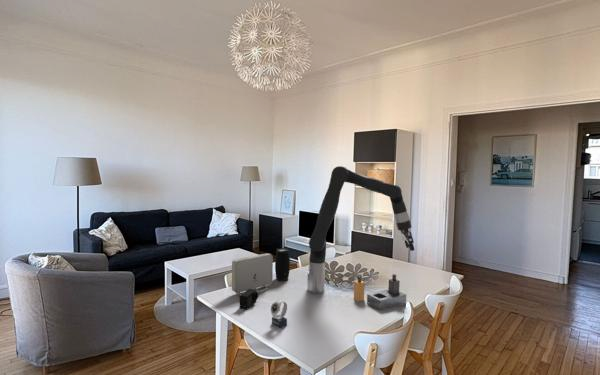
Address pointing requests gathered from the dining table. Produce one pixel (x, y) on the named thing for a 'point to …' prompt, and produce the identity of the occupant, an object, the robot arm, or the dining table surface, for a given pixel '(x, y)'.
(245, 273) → the network device
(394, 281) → the twin plug
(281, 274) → the portable speaker
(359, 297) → the orange plug
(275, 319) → the watch
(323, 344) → the dining table surface
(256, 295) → the digital camera
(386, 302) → the grey stone block holder
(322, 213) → the robot arm
